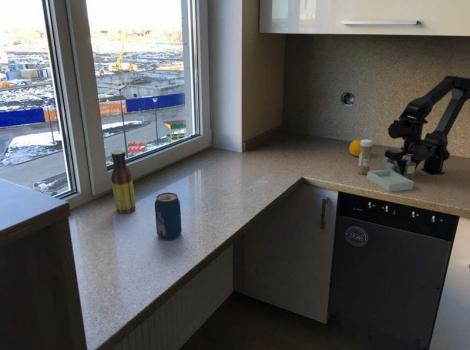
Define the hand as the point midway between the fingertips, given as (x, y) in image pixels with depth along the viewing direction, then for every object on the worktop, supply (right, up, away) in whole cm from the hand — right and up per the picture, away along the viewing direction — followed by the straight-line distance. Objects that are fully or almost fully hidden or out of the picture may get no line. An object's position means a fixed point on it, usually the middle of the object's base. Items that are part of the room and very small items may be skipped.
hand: (406, 174), depth 156 cm
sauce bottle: (-103, -12, -28) cm, 107 cm away
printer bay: (-2, +2, +7) cm, 8 cm away
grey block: (-1, 0, +2) cm, 3 cm away
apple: (-11, +8, +26) cm, 30 cm away
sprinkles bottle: (-16, 0, +5) cm, 16 cm away
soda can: (-86, -18, -43) cm, 98 cm away
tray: (-10, -4, -6) cm, 12 cm away
